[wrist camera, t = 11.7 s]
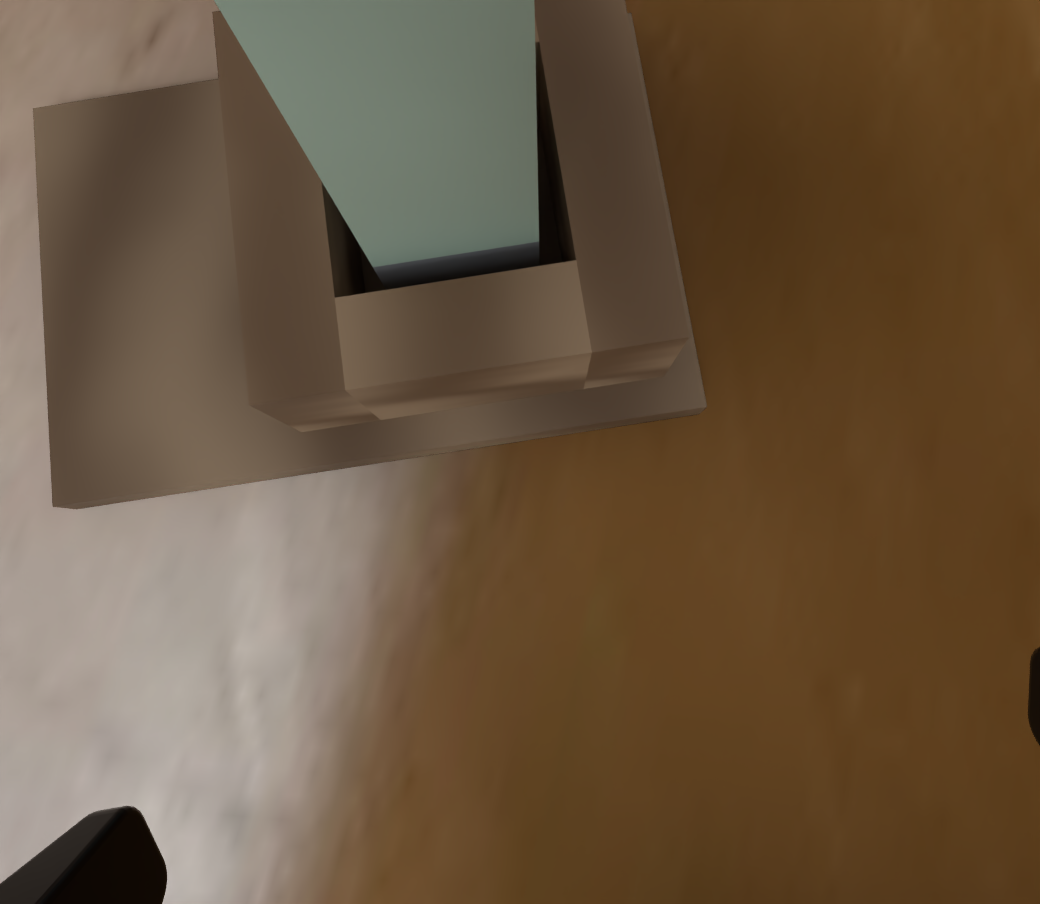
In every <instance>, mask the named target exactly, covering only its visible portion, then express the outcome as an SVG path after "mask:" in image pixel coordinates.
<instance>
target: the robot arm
mask: <svg viewBox="0 0 1040 904" xmlns="http://www.w3.org/2000/svg"><path fill="white" fill-rule="evenodd" d="M1028 719H1029V724H1030V727H1031V730H1032V733H1033V735H1034V737H1035V739H1036V741H1037V742H1038V744H1039V745H1040V647H1039V648H1037V649H1035V651H1034V652H1033V654H1032V656H1031V660H1030V678H1029V700H1028ZM166 885H167V870H166V865H165V862H164V859H163V857H162V855H161V853H160V851H159V848H158V846H157V844H156V842H155V840H154V838H153V836H152V834H151V832H150V829H149V827H148V825H147V823H146V821H145V819H144V817H143V815H142V813H141V812H140V811H139V810H138V809H136V808H135V807H132V806H123V807H117V808H111V809H106V810H100V811H97V812H93V813H91V814H89V815H88V816H86V817H85V818H83V819H82V820H81V821H80V822H78V823H77V824H76V825H74V826H73V827H72V828H71V829H69V830H68V831H67V832H66V833H64V834H63V835H62V836H60V837H59V838H58V839H57V840H55V841H54V842H53V843H52V844H50V845H49V846H48V847H46V848H45V849H44V850H43V851H41V852H40V853H39V854H38V855H36V856H35V857H34V858H32V859H31V860H30V861H29V862H27V863H26V864H25V865H24V866H22V867H21V868H20V869H18V870H17V871H16V872H15V873H13V874H12V875H11V876H10V877H8V878H7V879H6V880H4V881H3V882H2V883H1V884H0V904H162V902H163V899H164V895H165V891H166Z"/></svg>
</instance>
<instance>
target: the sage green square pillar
mask: <svg viewBox="0 0 1040 904" xmlns="http://www.w3.org/2000/svg"><path fill="white" fill-rule="evenodd" d="M214 1H215V3H216V4H217V6H218V8H219V9H220V11H221V13H222V14H223V16H224V18H225V20H226V21H227V23H228V25H229V26H230V28H231V30H232V31H233V33H234V35H235V36H236V38H237V40H238V41H239V43H240V45H241V46H242V48H243V50H244V51H245V53H246V55H247V57H248V58H249V60H250V62H251V63H252V65H253V67H254V68H255V70H256V72H257V73H258V75H259V77H260V78H261V80H262V82H263V83H264V85H265V87H266V88H267V90H268V92H269V94H270V95H271V97H272V99H273V100H274V102H275V104H276V105H277V107H278V109H279V110H280V112H281V114H282V115H283V117H284V119H285V120H286V122H287V124H288V125H289V127H290V129H291V131H292V132H293V134H294V136H295V137H296V139H297V141H298V142H299V144H300V146H301V147H302V149H303V151H304V152H305V154H306V156H307V157H308V159H309V161H310V162H311V164H312V166H313V168H314V169H315V171H316V173H317V174H318V176H319V178H320V179H321V181H322V183H323V184H324V186H325V188H326V189H327V191H328V193H329V194H330V196H331V198H332V199H333V201H334V203H335V205H336V206H337V208H338V210H339V211H340V213H341V215H342V216H343V218H344V220H345V221H346V223H347V225H348V226H349V228H350V230H351V231H352V233H353V235H354V236H355V238H356V240H357V242H358V243H359V245H360V247H361V248H362V250H363V252H364V253H365V255H366V257H367V258H368V260H369V262H370V263H371V265H372V267H373V268H374V270H375V272H376V274H377V275H378V277H379V279H380V280H381V282H382V284H383V285H384V287H385V289H386V290H388V289H395V288H401V287H407V286H414V285H420V284H427V283H433V282H439V281H446V280H452V279H459V278H465V277H472V276H478V275H484V274H491V273H497V272H504V271H510V270H517V269H523V268H529V267H536V266H540V261H539V210H538V159H537V108H536V57H535V7H534V0H214Z"/></svg>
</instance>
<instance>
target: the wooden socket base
mask: <svg viewBox="0 0 1040 904" xmlns="http://www.w3.org/2000/svg"><path fill="white" fill-rule="evenodd" d="M534 7H535V57H536V108H537V159H538V210H539V261H540V266H536V267H529V268H523V269H517V270H510V271H504V272H497V273H491V274H484V275H478V276H472V277H465V278H459V279H452V280H446V281H439V282H433V283H427V284H420V285H414V286H407V287H401V288H395V289H388V290H386V289H385V287H384V285H383V284H382V282H381V280H380V279H379V277H378V275H377V274H376V272H375V270H374V268H373V267H372V265H371V263H370V262H369V260H368V258H367V257H366V255H365V253H364V252H363V250H362V248H361V247H360V245H359V243H358V242H357V240H356V238H355V236H354V235H353V233H352V231H351V230H350V228H349V226H348V225H347V223H346V221H345V220H344V218H343V216H342V215H341V213H340V211H339V210H338V208H337V206H336V205H335V203H334V201H333V199H332V198H331V196H330V194H329V193H328V191H327V189H326V188H325V186H324V184H323V183H322V181H321V179H320V178H319V176H318V174H317V173H316V171H315V169H314V168H313V166H312V164H311V162H310V161H309V159H308V157H307V156H306V154H305V152H304V151H303V149H302V147H301V146H300V144H299V142H298V141H297V139H296V137H295V136H294V134H293V132H292V131H291V129H290V127H289V125H288V124H287V122H286V120H285V119H284V117H283V115H282V114H281V112H280V110H279V109H278V107H277V105H276V104H275V102H274V100H273V99H272V97H271V95H270V94H269V92H268V90H267V88H266V87H265V85H264V83H263V82H262V80H261V78H260V77H259V75H258V73H257V72H256V70H255V68H254V67H253V65H252V63H251V62H250V60H249V58H248V57H247V55H246V53H245V51H244V50H243V48H242V46H241V45H240V43H239V41H238V40H237V38H236V36H235V35H234V33H233V31H232V30H231V28H230V26H229V25H228V23H227V21H226V20H225V18H224V16H223V14H222V13H221V11H216V12H212V13H213V24H214V35H215V45H216V56H217V67H218V78H219V79H214V80H208V81H202V82H195V83H189V84H183V85H177V86H170V87H164V88H158V89H152V90H146V91H139V92H133V93H127V94H121V95H114V96H108V97H102V98H96V99H89V100H83V101H77V102H71V103H64V104H58V105H52V106H46V107H39V108H33V117H34V137H35V157H36V178H37V198H38V218H39V239H40V259H41V279H42V300H43V320H44V340H45V361H46V381H47V401H48V422H49V442H50V462H51V482H52V503H53V507H61V508H70V509H81V508H87V507H94V506H100V505H107V504H113V503H120V502H127V501H133V500H140V499H146V498H153V497H159V496H166V495H172V494H179V493H186V492H192V491H199V490H205V489H212V488H218V487H225V486H231V485H238V484H244V483H251V482H258V481H264V480H271V479H277V478H284V477H290V476H297V475H303V474H310V473H317V472H323V471H330V470H336V469H343V468H349V467H356V466H362V465H369V464H375V463H382V462H389V461H395V460H402V459H408V458H415V457H421V456H428V455H434V454H441V453H448V452H454V451H461V450H467V449H474V448H480V447H487V446H493V445H500V444H506V443H513V442H520V441H526V440H533V439H539V438H546V437H552V436H559V435H565V434H572V433H579V432H585V431H592V430H598V429H605V428H611V427H618V426H624V425H631V424H637V423H644V422H651V421H657V420H664V419H670V418H677V417H683V416H690V415H696V414H700V413H701V412H702V411H703V410H704V409H705V408H706V407H707V404H706V399H705V393H704V388H703V383H702V378H701V373H700V368H699V362H698V357H697V352H696V347H695V342H694V336H693V331H692V326H691V321H690V316H689V310H688V305H687V300H686V295H685V290H684V284H683V279H682V274H681V269H680V264H679V259H678V253H677V248H676V243H675V238H674V233H673V227H672V222H671V217H670V212H669V207H668V201H667V196H666V191H665V186H664V181H663V175H662V170H661V165H660V160H659V155H658V150H657V144H656V139H655V134H654V129H653V124H652V118H651V113H650V108H649V103H648V98H647V92H646V87H645V82H644V77H643V72H642V66H641V61H640V56H639V51H638V46H637V41H636V35H635V30H634V25H633V20H632V15H631V13H627V9H626V4H625V0H534Z"/></svg>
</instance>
